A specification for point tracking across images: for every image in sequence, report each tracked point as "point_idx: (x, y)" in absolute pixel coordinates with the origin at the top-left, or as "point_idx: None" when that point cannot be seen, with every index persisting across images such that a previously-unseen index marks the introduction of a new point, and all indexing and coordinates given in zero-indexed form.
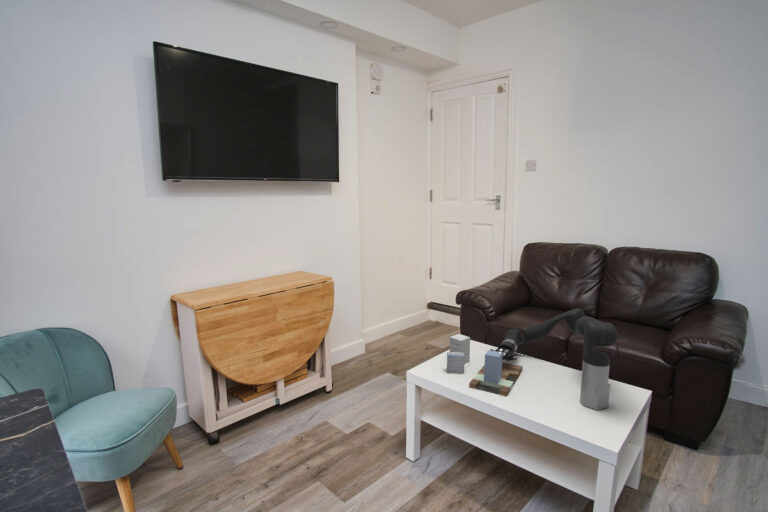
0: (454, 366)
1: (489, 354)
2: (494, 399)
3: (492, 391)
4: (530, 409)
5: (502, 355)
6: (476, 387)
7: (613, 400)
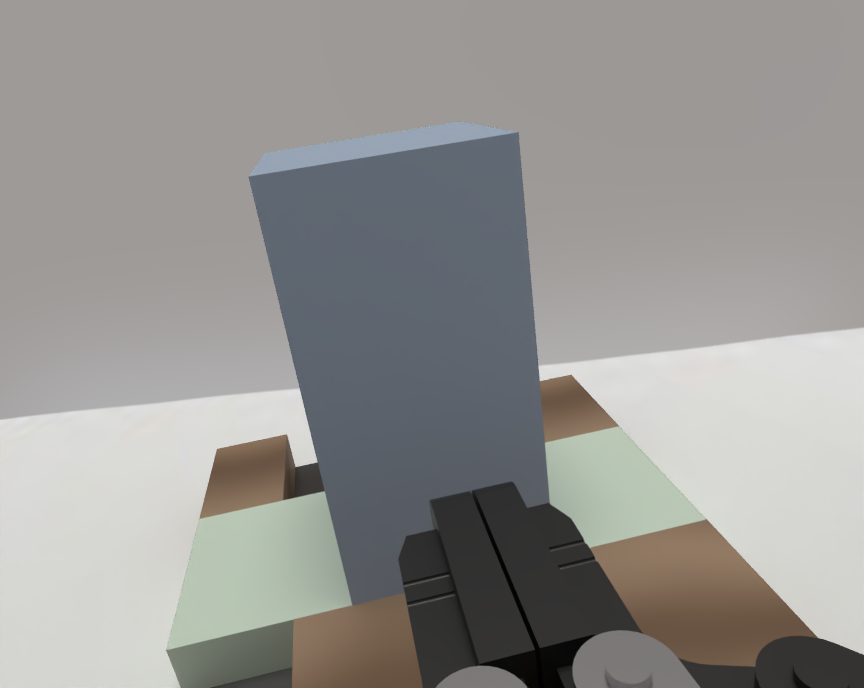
0: None
1: (411, 132)
2: None
3: None
4: (37, 467)
5: (471, 667)
6: None
7: None
